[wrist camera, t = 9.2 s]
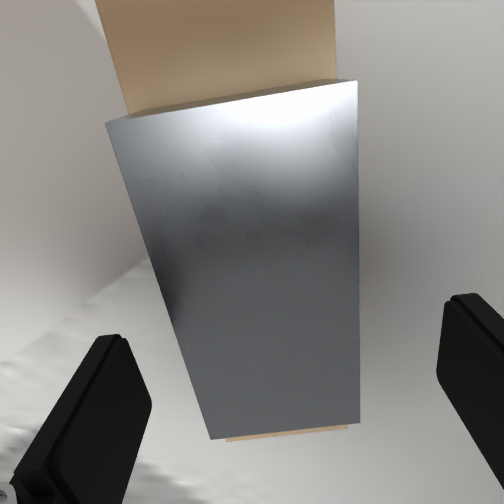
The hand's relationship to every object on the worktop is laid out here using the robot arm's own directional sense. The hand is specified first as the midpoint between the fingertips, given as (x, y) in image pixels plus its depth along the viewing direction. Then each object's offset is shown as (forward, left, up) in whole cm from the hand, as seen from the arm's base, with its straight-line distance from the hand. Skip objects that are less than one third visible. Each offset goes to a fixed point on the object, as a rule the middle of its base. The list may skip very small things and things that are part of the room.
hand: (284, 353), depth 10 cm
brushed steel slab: (0, 0, -8) cm, 8 cm away
